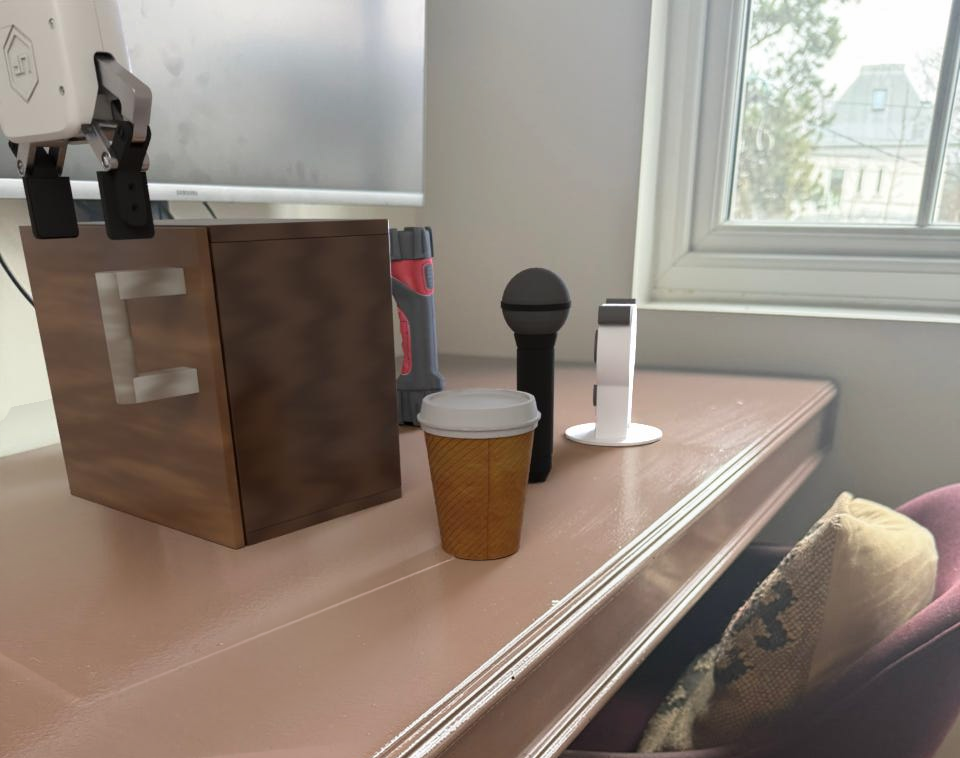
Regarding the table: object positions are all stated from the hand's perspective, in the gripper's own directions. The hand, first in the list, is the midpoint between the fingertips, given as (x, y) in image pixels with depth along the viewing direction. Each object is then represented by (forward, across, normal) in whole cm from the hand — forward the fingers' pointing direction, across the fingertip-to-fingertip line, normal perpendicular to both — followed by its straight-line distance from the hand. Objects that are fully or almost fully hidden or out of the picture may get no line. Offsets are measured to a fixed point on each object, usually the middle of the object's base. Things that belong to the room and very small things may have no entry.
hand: (93, 238), depth 66 cm
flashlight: (+24, -21, +51) cm, 60 cm away
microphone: (+24, +8, +38) cm, 46 cm away
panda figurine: (+24, +4, +60) cm, 65 cm away
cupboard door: (+24, -11, +4) cm, 26 cm away
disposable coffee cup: (+24, +18, +19) cm, 36 cm away
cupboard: (+24, -11, +16) cm, 31 cm away
